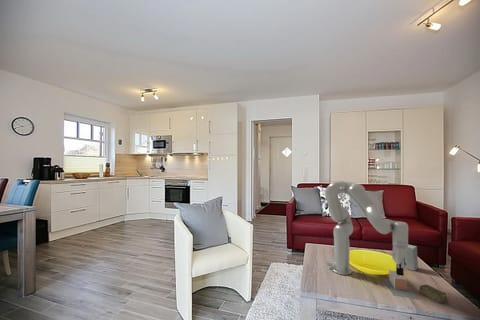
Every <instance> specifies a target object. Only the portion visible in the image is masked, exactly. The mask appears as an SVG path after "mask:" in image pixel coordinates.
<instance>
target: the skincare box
mask: <svg viewBox="0 0 480 320" xmlns="http://www.w3.org/2000/svg"><path fill="white" fill-rule="evenodd" d="M406 249H407V265H404V267H405V268H404V269H407V270H410V271H413V272H415V271H417V270H418V269H419V263H418V262H419V260H418V246H417V245H412V244H408V248H406Z"/></svg>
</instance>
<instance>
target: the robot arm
mask: <svg viewBox="0 0 480 320" xmlns="http://www.w3.org/2000/svg"><path fill="white" fill-rule="evenodd" d="M340 194H343V195H344V194H345V195H349V196H350V197H351V199H353V200H354V202H355V203H356V204H357V205H358V207H359V208H360V209H361V210H362V212H363V214H364V215H365V217H366V219H367V220H368V221H369V223H370V224H371V226H372V227H373V228H374V229H375V230H376V232H378V233H380V234H382V235H387V234H389V233H391V232H392V254H391V255H392V257H391V258H392V260H393V261H394V263H395V265H396V268H395V269H396V270H395V271H396V274H397V275H401V276H404V273H405V270H404V269H406V268H405V267H404V265H407V249H406V248H408V245H409V224H408V223H407V222H405V221H399V220H392V219H388V218H383V217H382V215H381V214H380V213H379V211H378V210H377V207H376V203H375V202H374V200H373V199H372V198H371V197H370V196H369V195H368V193H366V188H365V186H363V185H362V184H360V183H354V182H348V181H341V180H340V181H334V182H331V183H330V184H328V186H327V187H326V188H325V192H324V195H325V199H326V204H327V207H328V211H329V215H330V218H331V219H332V221H333V222H336V223H337V224H336V225H335V226H334V228H333V231H332V232H333V234H332V235H333V247H334V248H333V251H334V252H333V262H326V266H328V267H329V268H330V267H331V270H332V272H334V273H335V274H338V275H341V276H348V275H351V274H352V269H351V268H350V251H351V250H350V248H351V246H350V236H351V235H352V234H353V233H354V225H353V222H352V218H351V215H350V213H349V212H350V211H348V209H347V208H346V207H344V206H343V205H342V203H341V200H340V198H339V195H340Z"/></svg>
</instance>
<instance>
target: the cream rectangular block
mask: <svg viewBox="0 0 480 320" xmlns="http://www.w3.org/2000/svg"><path fill="white" fill-rule="evenodd" d="M388 279H389V281H390V282H391V284H392V285H393V287H394V288H395V289H399V290H405V291H407V284H408V280H407V278H406V276H404V275H403V276H401V275H397V274H396V270H391V269H389V270H388Z"/></svg>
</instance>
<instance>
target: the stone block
mask: <svg viewBox="0 0 480 320" xmlns="http://www.w3.org/2000/svg"><path fill="white" fill-rule="evenodd" d="M419 293H420V294H421V295H423V296H425V297H427V298H428V299H430V300H433V301H434V302H436V303H438V304H444V303H448V295H447V294H446V293H445V292H443V291H441V290H439V289H438V288H436V287H433V286H431V285H430V284H420V286H419Z"/></svg>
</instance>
